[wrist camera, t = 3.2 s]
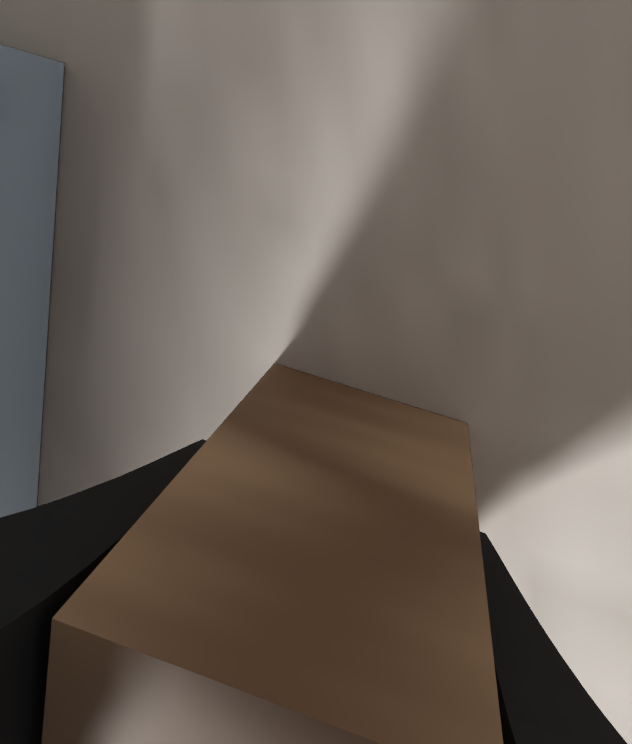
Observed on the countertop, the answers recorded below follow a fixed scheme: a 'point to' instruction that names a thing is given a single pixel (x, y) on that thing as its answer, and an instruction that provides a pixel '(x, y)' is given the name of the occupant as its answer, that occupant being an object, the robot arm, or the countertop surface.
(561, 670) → the robot arm
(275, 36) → the countertop surface
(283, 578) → the tan wooden block
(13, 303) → the blue shallow rectangular tray
